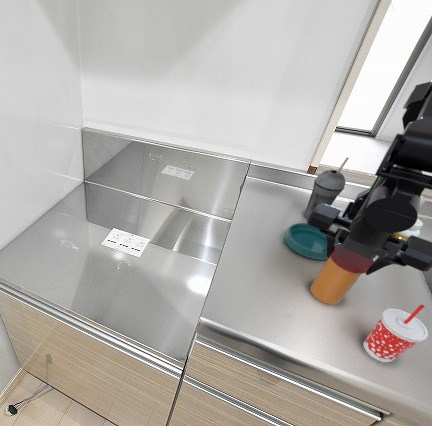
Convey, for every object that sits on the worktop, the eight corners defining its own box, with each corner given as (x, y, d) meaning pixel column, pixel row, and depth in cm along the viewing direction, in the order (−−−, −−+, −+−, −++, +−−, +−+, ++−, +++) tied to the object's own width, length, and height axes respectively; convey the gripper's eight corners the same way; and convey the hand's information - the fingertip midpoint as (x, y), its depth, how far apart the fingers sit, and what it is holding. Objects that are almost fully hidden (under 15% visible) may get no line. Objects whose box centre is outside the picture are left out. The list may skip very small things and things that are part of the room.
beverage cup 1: (301, 207, 94) (327, 148, 82) (328, 214, 90) (359, 154, 78) (297, 218, 89) (324, 158, 77) (325, 227, 85) (358, 165, 73)
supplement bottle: (383, 239, 81) (403, 211, 75) (407, 250, 77) (430, 222, 71) (375, 247, 78) (395, 219, 72) (399, 259, 75) (422, 230, 69)
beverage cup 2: (369, 330, 59) (409, 285, 51) (405, 356, 55) (455, 312, 46) (351, 344, 57) (390, 299, 49) (387, 373, 53) (437, 329, 44)
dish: (290, 225, 86) (294, 217, 84) (338, 243, 80) (343, 235, 78) (278, 247, 79) (281, 239, 77) (330, 268, 72) (335, 260, 71)
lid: (377, 274, 57) (382, 268, 56) (341, 273, 57) (345, 268, 56) (356, 249, 62) (360, 243, 61) (323, 248, 62) (327, 242, 61)
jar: (311, 278, 70) (334, 241, 62) (341, 289, 67) (369, 252, 59) (308, 297, 66) (333, 259, 58) (340, 309, 63) (370, 271, 56)
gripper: (312, 199, 52) (283, 261, 61) (459, 252, 41) (396, 317, 50) (332, 177, 58) (303, 236, 67) (464, 217, 47) (407, 281, 56)
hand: (346, 264), depth 60 cm, fingers closed on lid, 6 cm apart
